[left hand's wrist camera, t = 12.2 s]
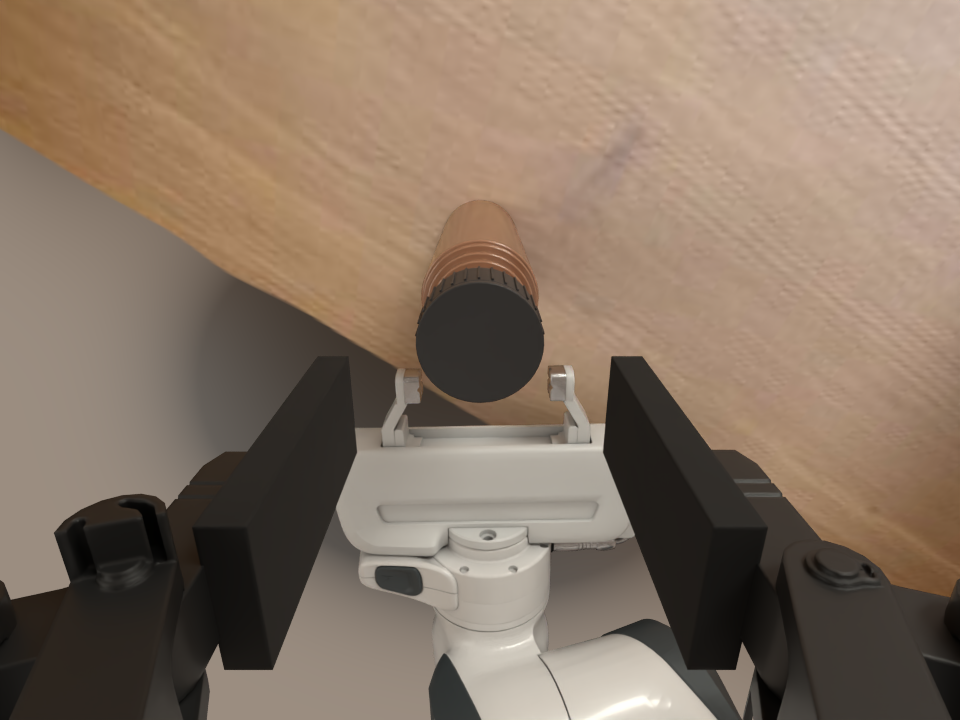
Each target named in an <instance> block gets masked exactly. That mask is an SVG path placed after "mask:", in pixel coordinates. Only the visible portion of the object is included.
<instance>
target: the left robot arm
mask: <svg viewBox="0 0 960 720" xmlns="http://www.w3.org/2000/svg"><path fill="white" fill-rule="evenodd" d="M356 454H357V444H356V433H355V423H354V412H353V401H352V390H351V379H350V368H349V358H348V356H318V357H317V358H316V360H315V361H314V362H313V364H312V365H311V366H310V368H309V369H308V370H307V372H306V373H305V374H304V376H303V377H302V379H301V380H300V381H299V383H298V384H297V385H296V387H295V388H294V389H293V391H292V392H291V393H290V395H289V396H288V398H287V399H286V400H285V402H284V403H283V404H282V406H281V407H280V408H279V410H278V411H277V412H276V414H275V415H274V416H273V418H272V419H271V421H270V422H269V423H268V425H267V426H266V427H265V429H264V430H263V431H262V433H261V434H260V435H259V437H258V438H257V439H256V441H255V442H254V444H253V445H252V446H251V448H250V449H249V450H248V452H224V453H223V454H221V455H220V456H218V457H216V458H215V459H213V460H212V461H210V462H209V463H207V464H205V465H204V466H203V467H202V468H201V469H200V470H199V472H198V473H197V474H196V475H195V476H194V477H193V479H192V480H191V481H190V485H187V486H186V487H185V488H184V489H183V491H182V492H181V493H180V494H179V495H178V499H175V500H174V501H173V502H172V504H171V505H170V506H169V507H168V508H167V510H166V506H165V503H164V502H163V501H161V500H160V499H159V498H157V497H156V496H150V495H145V494H133V495H122V496H118V497H114V498H110V499H106V500H102V501H100V502H97V503H95V504H93V505H91V506H88V507H86V508H84V509H81V510H80V511H78V512H77V513H75V514H74V515H72V516H71V517H69V518H68V519H66V520H65V521H64V522H63V523H62V524H61V525H60V526H59V528H58V529H57V530H56V531H55V532H54V534H55V537H56V541H57V543H58V546H59V549H60V552H61V555H62V558H63V561H64V564H65V567H66V570H67V573H68V576H69V579H70V585H69V587H67V588H63V589H59V590H54V591H50V592H45V593H41V594H36V595H31V596H27V597H22V598H18V599H13V600H10V597H9V595H8V592H7V589H6V587H5V584H4V583H3V582H2V581H1V580H0V720H207V711H208V702H209V693H210V690H209V683H208V678H207V674H206V670H205V668H206V666H207V664H208V662H209V660H210V658H211V656H212V655H213V653H214V651H215V649H216V647H217V645H218V644H219V648H220V653H221V657H222V662H223V666H224V670H273V668H274V665H275V663H276V660H277V657H278V655H279V652H280V650H281V647H282V645H283V642H284V639H285V637H286V634H287V632H288V629H289V627H290V624H291V621H292V619H293V616H294V613H295V611H296V608H297V606H298V603H299V601H300V598H301V596H302V593H303V591H304V588H305V585H306V583H307V580H308V578H309V575H310V573H311V570H312V567H313V565H314V562H315V560H316V557H317V554H318V552H319V549H320V547H321V544H322V542H323V539H324V536H325V534H326V531H327V529H328V526H329V524H330V521H331V518H332V516H333V513H334V511H335V508H336V506H337V503H338V501H339V498H340V495H341V493H342V490H343V488H344V485H345V483H346V480H347V477H348V475H349V472H350V470H351V467H352V465H353V462H354V459H355V457H356ZM603 454H604V457H605V459H606V462H607V465H608V467H609V470H610V472H611V475H612V477H613V480H614V483H615V485H616V488H617V490H618V493H619V495H620V498H621V501H622V503H623V506H624V508H625V511H626V513H627V516H628V519H629V521H630V524H631V526H632V529H633V531H634V534H635V537H636V539H637V542H638V544H639V547H640V549H641V552H642V554H643V557H644V560H645V562H646V565H647V567H648V570H649V572H650V575H651V578H652V580H653V583H654V585H655V588H656V590H657V593H658V596H659V598H660V601H661V603H662V606H663V609H664V611H665V614H666V616H667V619H668V621H669V624H670V627H671V629H672V632H673V634H674V637H675V639H676V642H677V645H678V647H679V650H680V652H681V655H682V657H683V660H684V663H685V665H686V668H687V670H736V666H737V662H738V657H739V653H740V648H741V644H742V642H743V644H744V646H745V648H746V650H747V652H748V654H749V655H750V657H751V659H752V661H753V663H754V665H755V670H754V674H753V678H752V682H751V686H750V690H749V694H748V698H747V702H746V706H745V710H744V715H743V720H752V717H753V719H754V720H960V579H958V580H957V582H956V584H955V587H954V589H953V592H952V594H951V597H945V596H941V595H936V594H931V593H927V592H922V591H917V590H913V589H908V588H903V587H899V586H896V585H892V584H890V581H889V580H888V579H887V577H886V576H885V575H884V573H883V572H882V571H881V569H880V568H879V567H878V566H876V565H875V564H874V563H872V562H871V561H870V560H868V559H867V558H866V557H865V556H863V555H861V554H859V553H857V552H855V551H853V550H851V549H849V548H847V547H845V546H841V545H838V544H834V543H831V542H827V541H822V540H821V539H820V538H819V536H818V535H817V534H816V533H815V532H814V531H813V529H812V528H811V527H810V526H809V525H808V523H807V522H806V521H805V520H804V519H803V518H802V516H801V515H800V514H799V513H798V512H797V510H796V509H795V508H794V507H793V506H792V505H791V503H790V502H789V501H788V500H787V499H786V497H782V493H781V492H780V490H779V489H778V488H777V487H776V486H775V485H774V483H771V480H770V479H769V477H768V476H767V475H766V474H765V473H764V472H763V470H762V469H761V468H760V467H759V466H758V464H756V463H755V462H753V461H752V460H750V459H748V458H747V457H745V456H744V455H742V454H741V453H739V452H737V451H736V450H711V449H710V448H709V446H708V445H707V444H706V442H705V441H704V439H703V438H702V437H701V435H700V434H699V433H698V431H697V430H696V429H695V427H694V426H693V425H692V423H691V422H690V420H689V419H688V418H687V416H686V415H685V414H684V412H683V411H682V410H681V408H680V407H679V406H678V404H677V403H676V402H675V400H674V399H673V397H672V396H671V395H670V393H669V392H668V391H667V389H666V388H665V387H664V385H663V384H662V383H661V381H660V380H659V379H658V377H657V376H656V374H655V373H654V372H653V370H652V369H651V368H650V366H649V365H648V364H647V362H646V361H645V360H644V358H643V357H642V356H612V357H611V368H610V379H609V390H608V401H607V412H606V422H605V433H604V444H603Z"/></svg>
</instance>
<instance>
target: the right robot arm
mask: <svg viewBox="0 0 960 720" xmlns="http://www.w3.org/2000/svg"><path fill="white" fill-rule="evenodd" d="M548 377H549V378H548V380H547V390H548V393H549V398H550V401H563V402H564V404H565V405H566V407H567V409H568V410H569V412H565V413H564V424H549V425H496V426H442V427H408V417H407V415H402V413H403V412H404V410H405V408H406V406H407V404H416V403H420V402H421V396H422V394H423V382H422V381H421V378H422V370H421V369H406V368H403V369H398V370H397V373H396V378H395V387H396V399H395V400H394V402H393V404H392V406H391V408H390V410H389V411H388V413H387V415H386V418H385V421H384V424H383V427H382V428H355V433H356V444H357V454H356V457H355V459H354V462H353V465H352V467H351V470H350V472H349V475H348V477H347V480H346V483H345V485H344V488H343V490H342V493H341V495H340V498H339V501H338V503H337V506H336V510H337V514H338V517H339V520H340V523H341V526H342V529H343V531H344V533H345V535H346V537H347V539H348V540H349V541H350V542H351V544H352V545H354V546H355V547H356V548H358V549H359V550H361V553H360V559H359V578H360V581H361V582H362V583H363V584H364V585H365V586H367V587H369V588H373V589H377V590H381V591H385V592H389V593H394V594H398V595H401V596H405V597H408V598H412V599H415V600H418V601H421V602H424V603H426V604H429V605H431V606H432V607H433V609H434V611H435V613H436V614H435V617H434V621H433V627H432V642H433V653H434V661H435V671H434V674H433V676H432V679H431V683H430V686H429V698H430V711H431V720H742V719H741V717H740V715H739V713H738V711H737V710H736V707H735V706H734V704H733V702H732V700H731V698H730V696H729V694H728V692H727V690H726V688H725V686H724V684H723V682H722V681H721V679H720V677H719V675H718V673H717V672H716V670H687V668H686V665H685V663H684V660H683V657H682V655H681V652H680V650H679V647H678V645H677V642H676V639H675V637H674V634H673V632H672V629H671V628H670V627H669V626H667V625H665V624H662V623H660V622H658V621H656V620H652V619H643V620H640V621H637V622H635V623H632V624H629V625H627V626H624V627H622V628H619V629H616V630H614V631H611V632H609V633H606V634H604V635H602V636H601V637H599V638H595V639H591V640H588V641H584V642H581V643H577V644H573V645H570V646H566V647H562V648H559V649H555V650H551V651H548V640H549V632H548V623H547V619H546V616H545V613H544V611H545V609H546V606H547V604H548V600H549V595H550V573H551V552H552V551H576V550H582V549H583V550H584V549H596V550H611V549H614V548H615V547H616V544H620V543H623V542H625V541H627V540H628V539H630V538H632V537H634V536H635V534H634V531H633V529H632V526H631V524H630V521H629V519H628V516H627V513H626V511H625V508H624V506H623V503H622V501H621V498H620V495H619V493H618V490H617V488H616V485H615V483H614V480H613V477H612V475H611V472H610V470H609V467H608V465H607V462H606V459H605V457H604V454H603V444H604V433H605V423H602V424H590V423H589V420H588V418H587V415H586V412H585V410H584V408H583V407H582V405H581V404H580V402H579V400H578V399H577V397H576V395H575V394H574V384H575V377H574V371H573V368H572V366H571V365H564V366H563V365H560V366H548Z"/></svg>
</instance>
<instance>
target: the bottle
mask: <svg viewBox="0 0 960 720" xmlns="http://www.w3.org/2000/svg"><path fill="white" fill-rule="evenodd" d="M478 266H480V268H491V267H493V269H495V270H499V271H502V272H503V271H505V273H506V274H508V275H510V276H512V277H513V278H514V277H516V279H517V281H518V282H520V283H521V284H522V285H525V286H526V289H527V291H528V293H529V294H530V295H532V296H533V299H534V302H535V305H536V306H537V307H538V299H539V296H538V286H537V282H536V279H535V276H534V273H533V271H532V268H531V265H530V263H529V260H528V258H527V255H526V253H525V250H524V248H523V245H522V243H521V240H520V237H519V235H518V232H517V230H516V227H515V225H514V222H513V220H512V218H511V217H510V215H509V214H508V213H507V212H506V211H505V210H504V209H503V208H502V207H500V206H499V205H497V204H495V203H493V202H490V201H485V200H476V201H471V202H468V203H465V204H463V205H461V206H460V207H458V208H457V209H456V210H455V211H454V212H453V213H452V214H451V215H450V217H449V218H448V220H447V222H446V225H445V227H444V230H443V232H442V235H441V237H440V240H439V243H438V245H437V248H436V250H435V253H434V255H433V258H432V260H431V263H430V265H429V268H428V271H427V273H426V276H425V278H424V282H423V286H422V297H421V300H422V307H424V304H425V301H426V298H427V296H428V297H429V296H430V294H431V293H432V290H433V287H434V286H435V287H436V286H437V285H438V284H439V283H440V282H442V279H443V278H447V277H448V276H450V275H452V274H453V272H459V271H461V270H465V268H468V269H469V268H478Z"/></svg>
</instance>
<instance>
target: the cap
mask: <svg viewBox="0 0 960 720" xmlns="http://www.w3.org/2000/svg"><path fill="white" fill-rule="evenodd" d="M541 322H542V319H541V316H540V313H539V311H538V308H537V306H536V305H535V302H534V299H533V296H532V295H530V294H529V293H528V291H527V289H526V286H525V285H522V284H521V283H520V282H518V281H517V279H516V277H514V278H513V277H512V276H510V275H508V274H506V273H505V271H503V272H502V271H499V270H495V269H493V267H491V268H480V266H478V268H469V269H468V268H465V270H461V271H459V272H453V274H452V275H450V276H448V277H447V278H443V279H442V282H440V283H439V284H438V285H437V286H436V287H435V286H434V287H433V290H432V293H431V294H430V296H429V297H428V296H427V298H426V301H425V304H424V307H423V308H422V311H421V314H420V316H419V319H418V323H417V324H419V325H418V328H417V331H416V335H415V336H416V350H417V355H418V359H419V362H420V364H421V367H422V369H423V371H424V372H425V374H426V376H427V377H428V378H429V379H430V381H431V382H432V383H433V384H434V385H435V386H436V387H438V388H439V389H440V390H442V391H443V392H445V393H446V394H448V395H450V396H452V397H454V398H457V399H460V400H463V401H468V402H477V403H484V402H492V401H497V400H500V399H503V398H506V397H508V396H510V395H512V394H514V393H515V392H517V391H519V390H520V389H521V388H522V387H524V386H525V385H526V384H527V383H528V382H529V381H530V379H531V378H532V377H533V375H534V374H535V372H536V371H537V369H538V367H539V364H540V362H541V359H542V355H543V350H544V330H543V327H542V324H541Z"/></svg>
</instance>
